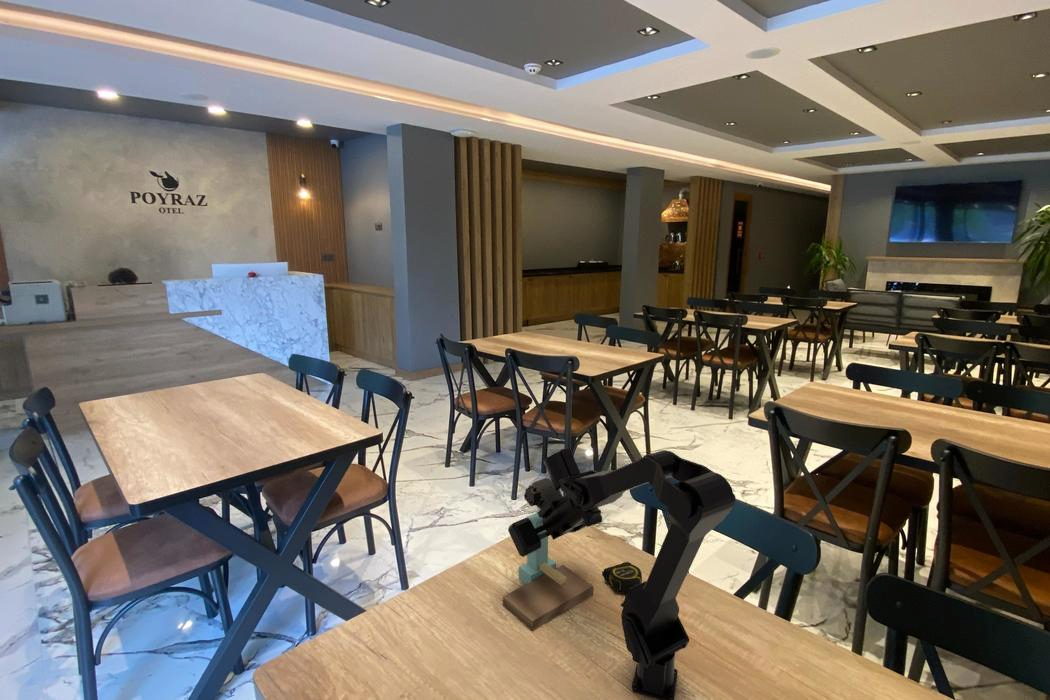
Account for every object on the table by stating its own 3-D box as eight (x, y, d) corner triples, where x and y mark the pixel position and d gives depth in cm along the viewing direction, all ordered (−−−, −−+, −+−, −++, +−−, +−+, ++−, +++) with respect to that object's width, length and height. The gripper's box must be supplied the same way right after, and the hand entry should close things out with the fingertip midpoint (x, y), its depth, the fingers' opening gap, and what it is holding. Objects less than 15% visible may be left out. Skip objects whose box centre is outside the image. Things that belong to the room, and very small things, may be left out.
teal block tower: (550, 603, 105) (550, 539, 102) (518, 579, 112) (518, 518, 110) (575, 589, 109) (576, 526, 106) (543, 566, 117) (543, 507, 114)
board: (532, 630, 98) (532, 620, 97) (503, 605, 104) (502, 595, 104) (593, 594, 107) (593, 585, 107) (562, 573, 114) (562, 564, 114)
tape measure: (628, 573, 114) (629, 557, 114) (648, 591, 108) (649, 575, 108) (601, 581, 112) (601, 565, 111) (620, 601, 106) (620, 584, 105)
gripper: (584, 460, 111) (549, 491, 121) (513, 486, 99) (481, 517, 110) (612, 509, 106) (573, 537, 117) (541, 543, 95) (504, 569, 105)
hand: (533, 538), depth 112 cm, fingers open, 9 cm apart
